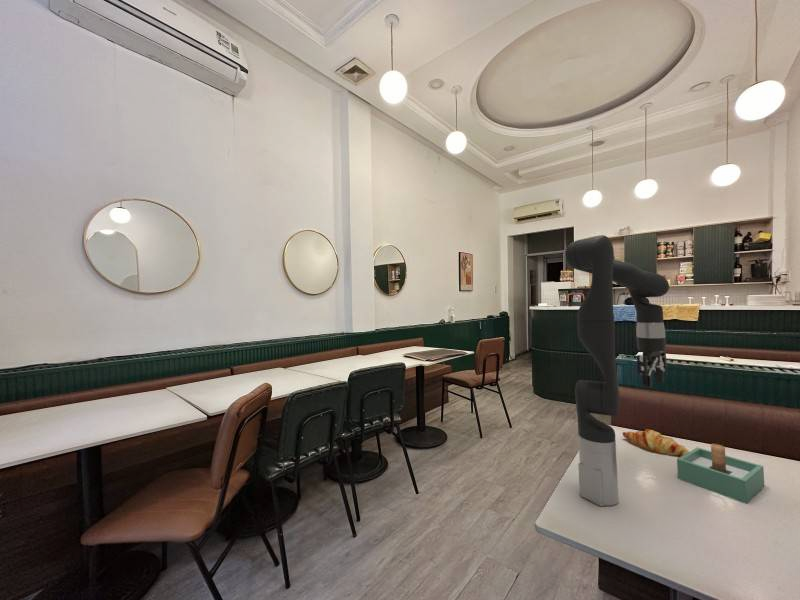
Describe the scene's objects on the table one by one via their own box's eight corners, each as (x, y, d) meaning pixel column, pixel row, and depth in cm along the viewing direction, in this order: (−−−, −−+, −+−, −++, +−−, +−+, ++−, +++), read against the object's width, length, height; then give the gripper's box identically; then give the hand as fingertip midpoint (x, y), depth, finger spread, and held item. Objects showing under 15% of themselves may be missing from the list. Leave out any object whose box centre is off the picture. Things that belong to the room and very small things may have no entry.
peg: (724, 482, 95) (722, 448, 95) (711, 478, 97) (709, 445, 97) (728, 479, 96) (726, 446, 96) (715, 475, 99) (713, 442, 99)
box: (746, 503, 86) (745, 481, 86) (678, 478, 99) (676, 459, 100) (764, 486, 93) (763, 466, 94) (698, 465, 107) (697, 447, 107)
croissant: (694, 466, 113) (696, 443, 115) (686, 461, 107) (689, 437, 110) (625, 445, 130) (628, 425, 132) (615, 439, 125) (619, 419, 127)
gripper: (653, 338, 99) (656, 390, 98) (674, 335, 106) (677, 383, 105) (626, 336, 105) (629, 385, 105) (648, 333, 112) (650, 379, 112)
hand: (653, 384), depth 105 cm, fingers open, 8 cm apart
